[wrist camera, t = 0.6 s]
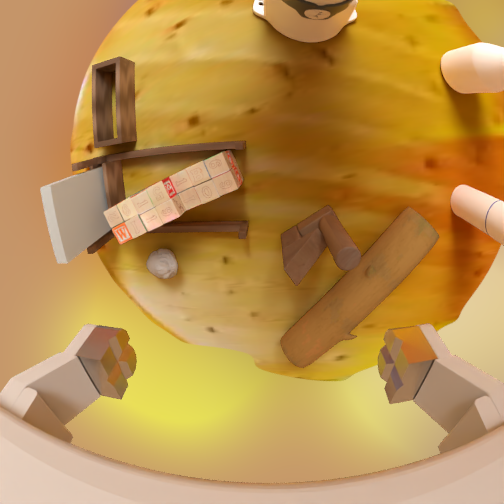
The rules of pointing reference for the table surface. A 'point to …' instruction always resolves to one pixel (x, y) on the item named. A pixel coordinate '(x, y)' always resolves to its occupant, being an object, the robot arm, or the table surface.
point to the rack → (117, 192)
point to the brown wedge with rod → (317, 244)
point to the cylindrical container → (479, 210)
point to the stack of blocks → (174, 196)
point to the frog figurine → (162, 263)
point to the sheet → (75, 213)
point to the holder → (104, 102)
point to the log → (360, 289)
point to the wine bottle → (474, 68)
